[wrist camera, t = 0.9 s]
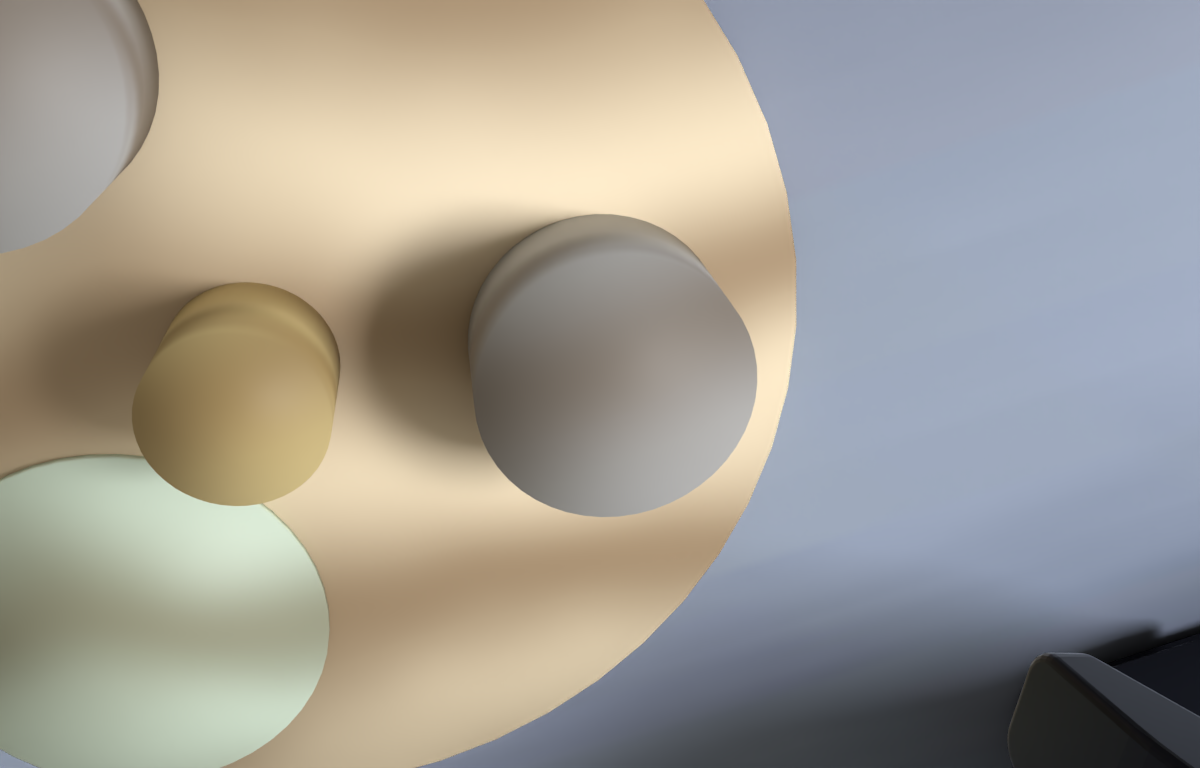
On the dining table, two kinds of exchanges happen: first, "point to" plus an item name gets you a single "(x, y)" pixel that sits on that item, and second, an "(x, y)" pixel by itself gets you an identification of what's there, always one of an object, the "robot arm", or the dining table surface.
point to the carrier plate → (367, 365)
